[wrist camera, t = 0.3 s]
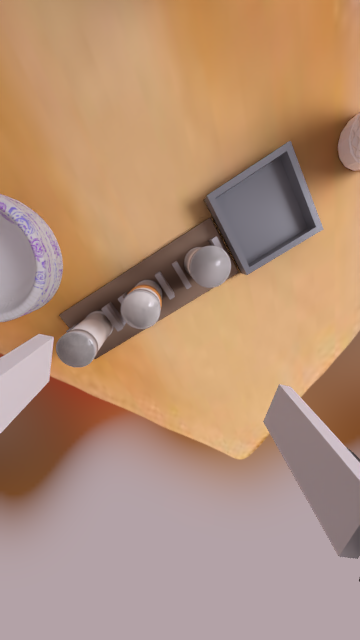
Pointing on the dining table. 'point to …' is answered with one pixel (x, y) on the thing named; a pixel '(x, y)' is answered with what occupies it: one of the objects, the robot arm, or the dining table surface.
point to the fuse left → (84, 340)
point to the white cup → (350, 144)
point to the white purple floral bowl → (26, 260)
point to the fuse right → (208, 265)
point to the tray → (265, 210)
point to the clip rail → (157, 267)
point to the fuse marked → (142, 305)
